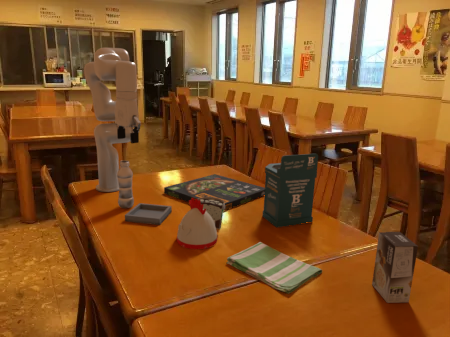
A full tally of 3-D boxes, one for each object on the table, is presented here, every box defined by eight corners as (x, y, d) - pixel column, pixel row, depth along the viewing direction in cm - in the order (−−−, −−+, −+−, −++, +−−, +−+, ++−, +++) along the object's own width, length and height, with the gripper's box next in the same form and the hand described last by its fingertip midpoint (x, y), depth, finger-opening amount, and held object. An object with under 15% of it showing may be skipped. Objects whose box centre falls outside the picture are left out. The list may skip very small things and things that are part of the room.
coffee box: (410, 302, 98) (420, 246, 94) (386, 303, 97) (395, 246, 93) (392, 283, 107) (400, 231, 102) (370, 283, 106) (378, 231, 102)
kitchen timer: (199, 228, 140) (199, 190, 136) (225, 241, 130) (226, 200, 126) (169, 239, 130) (168, 198, 126) (194, 253, 121) (195, 209, 117)
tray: (139, 208, 157) (139, 203, 157) (171, 211, 155) (171, 206, 154) (125, 221, 144) (124, 215, 143) (159, 224, 142) (159, 218, 141)
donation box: (276, 227, 143) (281, 155, 136) (257, 212, 157) (261, 147, 150) (312, 222, 148) (318, 153, 141) (291, 208, 163) (296, 145, 156)
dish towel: (287, 297, 99) (288, 288, 98) (224, 265, 115) (224, 257, 114) (322, 273, 112) (323, 265, 111) (261, 247, 127) (261, 239, 127)
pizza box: (267, 195, 181) (267, 188, 180) (218, 214, 156) (218, 206, 155) (214, 180, 203) (214, 174, 202) (164, 194, 178) (164, 187, 177)
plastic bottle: (136, 205, 161) (134, 160, 156) (130, 210, 155) (129, 163, 150) (121, 204, 162) (119, 159, 157) (115, 209, 155) (113, 163, 150)
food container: (230, 224, 144) (230, 199, 142) (223, 230, 139) (224, 204, 136) (201, 218, 149) (202, 194, 147) (194, 223, 144) (194, 199, 141)
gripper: (106, 94, 143) (108, 137, 148) (129, 98, 132) (131, 146, 136) (124, 93, 148) (125, 135, 153) (148, 97, 137) (148, 143, 141)
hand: (127, 140), depth 145 cm, fingers open, 9 cm apart
